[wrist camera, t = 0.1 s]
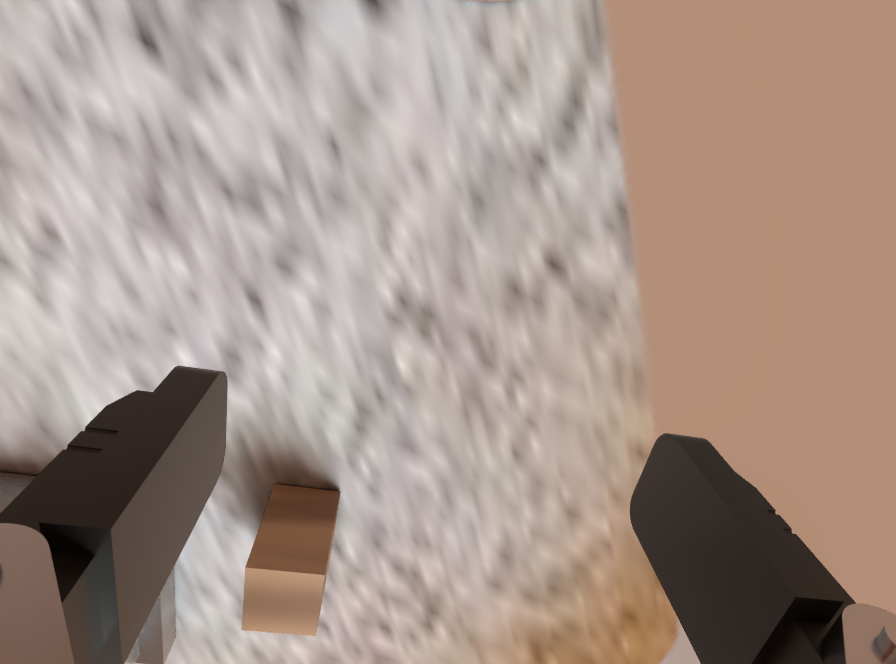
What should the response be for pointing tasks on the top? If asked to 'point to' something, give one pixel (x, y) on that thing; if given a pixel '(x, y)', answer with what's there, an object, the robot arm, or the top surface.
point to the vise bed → (161, 619)
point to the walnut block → (290, 561)
